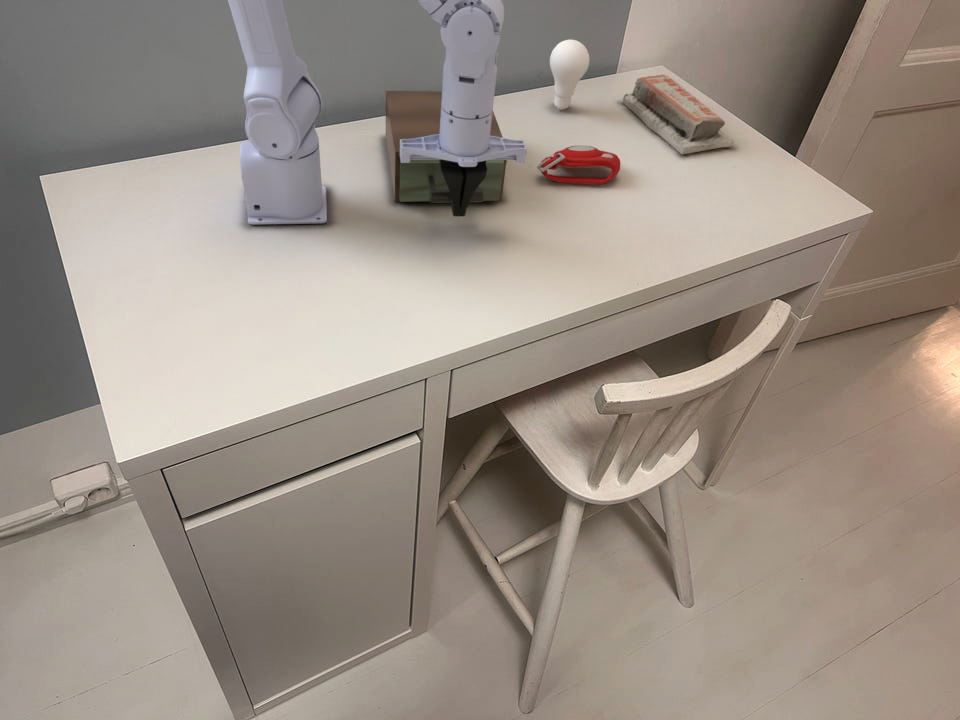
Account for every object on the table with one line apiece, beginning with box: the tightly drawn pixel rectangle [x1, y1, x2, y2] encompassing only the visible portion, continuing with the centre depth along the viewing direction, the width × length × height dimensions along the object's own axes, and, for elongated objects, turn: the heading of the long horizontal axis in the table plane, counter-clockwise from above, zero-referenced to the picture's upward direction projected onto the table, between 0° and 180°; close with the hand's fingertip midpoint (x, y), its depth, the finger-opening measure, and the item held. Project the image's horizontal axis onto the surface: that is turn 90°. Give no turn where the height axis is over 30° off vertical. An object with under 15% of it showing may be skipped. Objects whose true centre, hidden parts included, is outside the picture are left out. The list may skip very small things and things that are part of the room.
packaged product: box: [622, 74, 735, 155], centre depth 117 cm, size 18×5×10 cm
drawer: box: [399, 160, 504, 204], centre depth 97 cm, size 20×13×6 cm, turn 10°
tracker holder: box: [536, 145, 621, 185], centre depth 103 cm, size 12×4×10 cm
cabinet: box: [385, 90, 508, 203], centre depth 100 cm, size 16×14×7 cm
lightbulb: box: [549, 39, 590, 111], centre depth 115 cm, size 6×6×11 cm
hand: (458, 212), depth 89 cm, fingers closed, pressing on drawer
